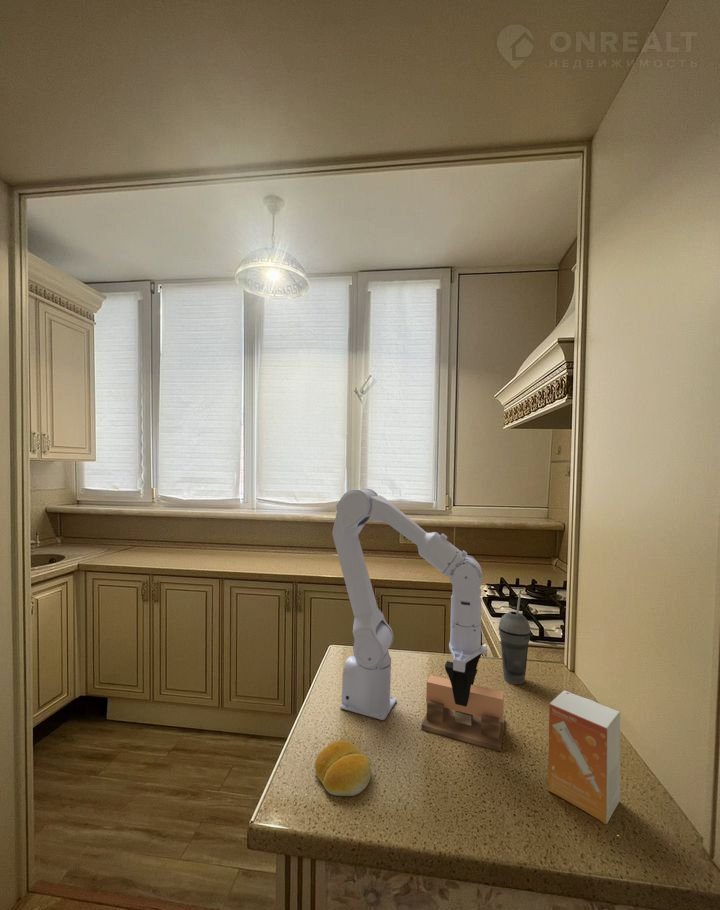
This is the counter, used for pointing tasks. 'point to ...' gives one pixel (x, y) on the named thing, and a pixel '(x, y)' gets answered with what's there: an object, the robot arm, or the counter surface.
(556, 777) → the small box
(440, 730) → the stand
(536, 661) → the counter surface
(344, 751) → the bread roll
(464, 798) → the counter surface
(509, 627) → the beverage cup
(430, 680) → the bar
